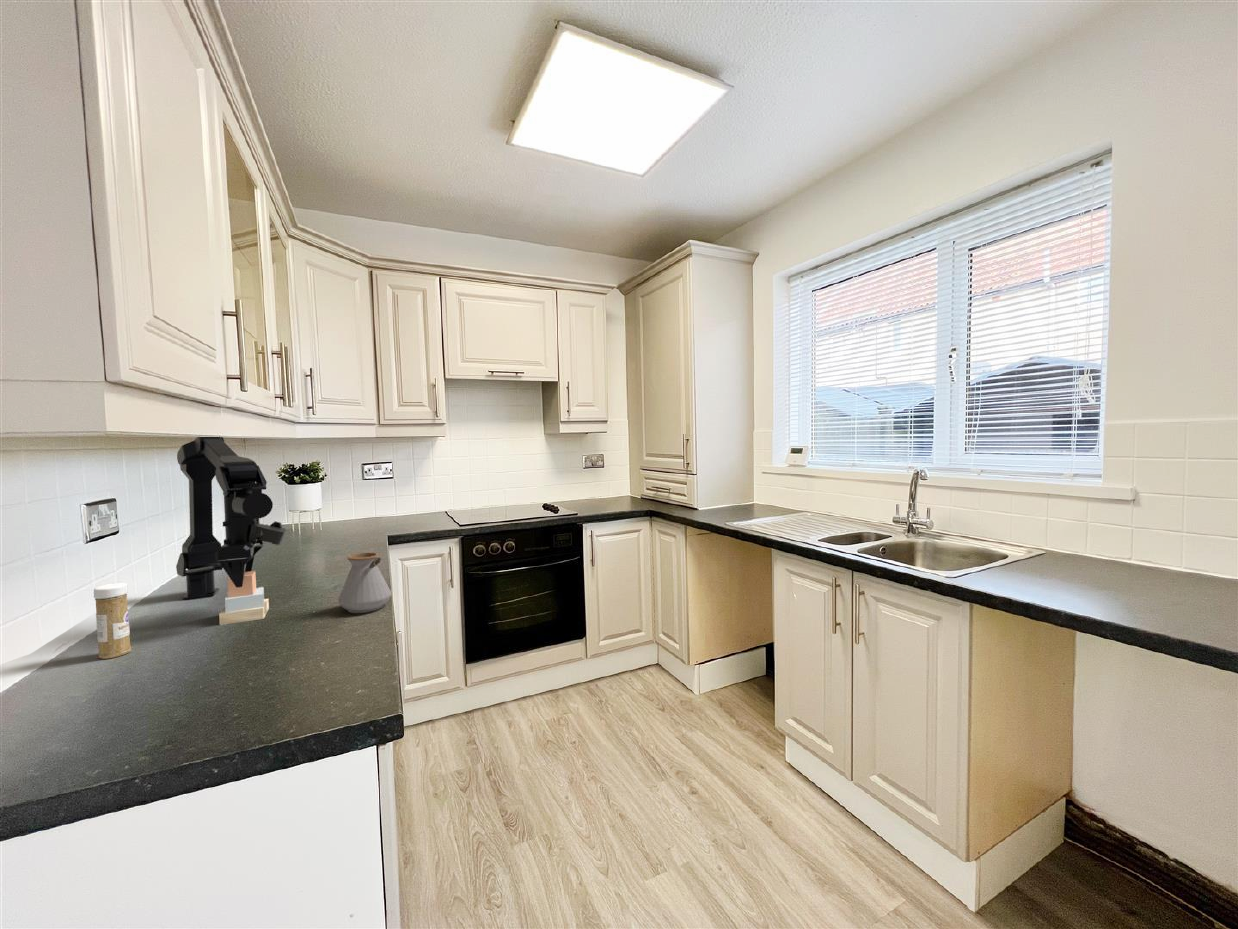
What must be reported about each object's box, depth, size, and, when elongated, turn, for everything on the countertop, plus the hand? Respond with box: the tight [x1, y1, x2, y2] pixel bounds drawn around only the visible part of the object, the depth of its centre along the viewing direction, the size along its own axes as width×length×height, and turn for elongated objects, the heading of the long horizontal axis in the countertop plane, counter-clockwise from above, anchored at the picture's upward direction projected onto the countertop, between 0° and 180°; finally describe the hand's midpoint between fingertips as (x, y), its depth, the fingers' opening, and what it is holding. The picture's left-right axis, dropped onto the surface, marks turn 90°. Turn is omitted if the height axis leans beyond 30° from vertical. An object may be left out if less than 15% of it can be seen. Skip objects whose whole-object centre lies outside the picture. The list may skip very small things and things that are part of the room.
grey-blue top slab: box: [224, 586, 265, 613], centre depth 117 cm, size 7×7×3 cm
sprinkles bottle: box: [93, 582, 132, 660], centre depth 96 cm, size 5×5×13 cm
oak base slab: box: [218, 598, 270, 626], centre depth 117 cm, size 8×8×3 cm
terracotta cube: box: [226, 570, 257, 598], centre depth 116 cm, size 4×4×4 cm
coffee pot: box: [338, 552, 392, 614], centre depth 118 cm, size 21×12×15 cm, turn 39°
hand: (243, 582), depth 117 cm, fingers open, 9 cm apart
